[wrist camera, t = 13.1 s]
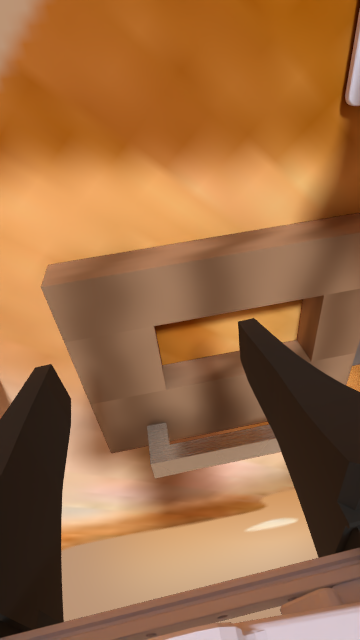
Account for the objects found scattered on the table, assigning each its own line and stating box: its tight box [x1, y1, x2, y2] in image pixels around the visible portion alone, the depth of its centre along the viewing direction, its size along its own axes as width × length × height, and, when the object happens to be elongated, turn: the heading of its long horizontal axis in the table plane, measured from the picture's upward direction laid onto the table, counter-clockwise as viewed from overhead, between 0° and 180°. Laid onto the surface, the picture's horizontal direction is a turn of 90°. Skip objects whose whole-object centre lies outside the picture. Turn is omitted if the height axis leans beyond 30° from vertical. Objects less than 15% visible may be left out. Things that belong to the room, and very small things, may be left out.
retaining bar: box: [147, 422, 281, 478], centre depth 26 cm, size 15×2×3 cm, turn 96°
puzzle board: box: [41, 213, 360, 453], centre depth 25 cm, size 20×16×2 cm
